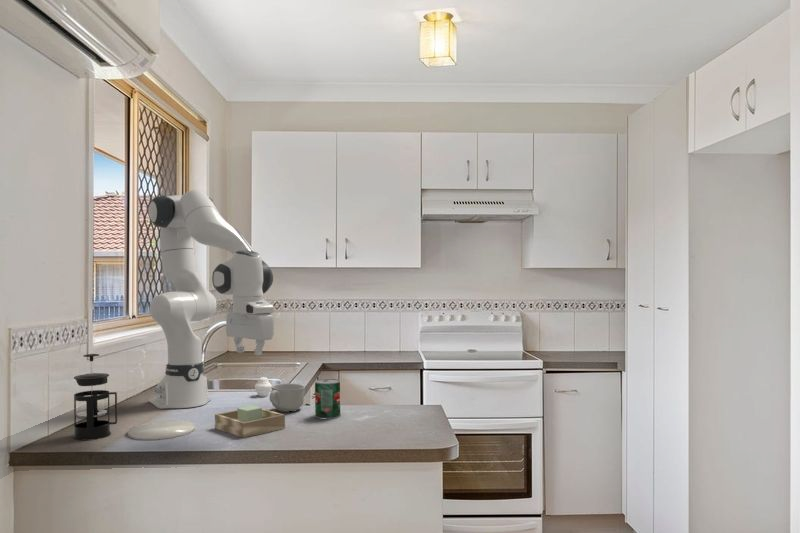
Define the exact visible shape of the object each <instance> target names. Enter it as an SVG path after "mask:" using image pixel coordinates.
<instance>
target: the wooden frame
mask: <svg viewBox="0 0 800 533" xmlns="http://www.w3.org/2000/svg"><path fill="white" fill-rule="evenodd" d="M284 428H285V429H286V415H285V414H284V413H281V412H276V411H272V410H268V409H264V408H262V419H258V420H254V421H249V422H242V421H239V420H238V410H237V409H236V410H232V411H226V412H221V413H216V414H214V429H216V430H219V431H223V432H225V433H228V434H231V435H234V436H237V437H241V438H245V437H246V438H249V436H250V437H253V435H254V436H259V435H262V434H261V433H263V434H267V433H266V432H268V433H271V432H270V431H272V432H275V430H276V431H279V430H280V429H281V430H285V429H284ZM258 434H259V435H258Z"/></svg>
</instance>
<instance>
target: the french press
mask: <svg viewBox="0 0 800 533" xmlns="http://www.w3.org/2000/svg"><path fill="white" fill-rule="evenodd" d="M99 356H100V354H98V353H88V354H84V355H82V357H84V358H85V357H86V358H89V362H90V373H85V374H79V375H75V376H73V380H75V381H76V383H77V385H78V386H80V387H90V390H86V391H80V392H76V393H74V395H73V409H74V410H73V411H74V412H73V413H74V415H73V417H74V419H73V420H74V425H73V426H74V434H73V439H74V438H76V439H86V440H85V441H88V440H87V439H94V440H98V438H100V439H104V438H106V437H109V436H111V433H112V432H111V427H110V426H111V425H117V424H118V392H117V391H112V392H111V391H109V390H105V389H104V390H103V389H100V390H99V389H97V390H94V389H93V386H101V385H105V384H107V383H108V378H109V376H110V374H108V373H104V372H103V373H101V372H98V373H97V372H94V373H93V362H94V357H99ZM110 395H114V408H115V409H114V411H115V412H114V417H115V419H114V421H111V420H110V417H111V416H110V410H111V409H110ZM105 399H107V409H98V401H99V400H105ZM77 402H85V403H86V404H85V405H86V410H84V411H83V410H82V411H80V412H77ZM105 416H107V418H108V419H107V420H105V419H98V418H102V417H105ZM77 419H85V420H86V421H82V422H79V423H77ZM76 439H75V440H76Z"/></svg>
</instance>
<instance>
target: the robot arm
mask: <svg viewBox="0 0 800 533" xmlns="http://www.w3.org/2000/svg"><path fill="white" fill-rule="evenodd" d="M148 217H149V220H150V222H151V224H153V225H154V227H158V228H160V234H159V248H160V258H161V267H162V273H163V276H164V277H165V278H166V279H167V280H169V281H170V282H171V283H172V285H173V286H174V288H175V290H176V291H166V292H163V293H160V294H157V295H155V296H154V297H153V298H152V299H151V302H150V305H149V313H150V316H151V318H152V319H153V321H155V322H156V323H157V324H158V325H159V326H160V327H161V329H162V331H163V333H164V336H165V339H166V345H167V364H165V366H166V367H165V372H164V373H165V375H164V376H163V378H161V380H160V381H159V382H158V383H157V385H156V386H155V387H154V394H155V396H154V397H152V398H149V399H148V401H149V403H150V404H152V405H153V406H155V407H156V408H158V409H187V408H195V407H201V406H204V405H206V404H207V403H208V402H210V401H211V400H212V397H211V396H209V390H208V381H207V379H208V378H207V376H205V375H204V374H203V373H204V368H205V366H204V362H203V355H202V354H203V347H202V339H201V337H200V336H198V335H197V334H195V333H194V331H193V328H192V324H191V323H194V322H201V321H203V320H206V319H209V318H211V317H213V316H214V314H215V312H216V311H217V306H218V305H217V299H216V297H215V295H214V294H213V293H211V292H210V291H209V290H208V289H207V288H206V287H205V284H204V283H203V281H202V279H201V276H200V274H199V271H198V266H197V260H196V252H195V246H194V240H195V241H196V242H197V243H199V244H202V245H205V246H209V247H213V248H217V249H218V248H219V249H222V250H225V251H227V252H229V253H231V254H232V257H231V258H230V259H228V260H227V261H225V262H223V263H219V264H217V266H216V267H215V268H214V270H213V272H212V277H211V278H212V279H211V280H212V285H213V287H214V289H215V290H216V292H217V293H219V294H221V295H227V296H228V295H232V305H231V306H230V307H229V309H228V312H227V314H226V322H225V334H226V336H227V337H230V338H231V337H232V338H233V342H234V344H235V347H236V348H235V349H236V350H235V351H236V353H239V354H242V353H245V345H243V342H242V341H243V339H246V340H247V339H248V340H255V344H256V346H255V348H254V349H253V355H254V356H262V355H263V350H264V349H263V348H264V345H265V344H266V343H265V341H270V340H272V339H273V337H274V335H275V332H274V331H275V328H274V326H275V324H274V323H275V322H274V316H273V313H275V312H274V310H275V309H274V308H275V307H274V305H273V304H272V303H269V302H268V301H267V300H266V299H264V294H266V293H267V292H268V291H269V290H270V288H271V286H272V285H273V282H274V274H273V271H272V268H271V267H270V266H269V265H268V264H267V263H266V262H265V261H264V260H263V259H262V257H261V254H260V253H258V252H257V251H255V250H254V248H253V247H252V246H251V245H250V243H249V242H248V240H247V239H246V238H245V237H244V236H243V234H242V233H241V232H240V231H239V230H237V229H236V228H235V227H233V226H232V225H231V224H230V223H228V221H227V220H225V218H224V217H223V216H222V215H221V213H220V212H219V210H218V208H217V207H216V204H215V202H214V200H213V199H212V198H211V197H209V196H208V195H207V194H206V193H205V192H204V191H202V190H199V189H191V190H188V191H186V192H184V194H180V195H179V194H177V195H176V194H175V195H160V196H155V197H153V198H152V199H151V200H150V202H149V203H148ZM193 239H194V240H193Z"/></svg>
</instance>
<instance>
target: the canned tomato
mask: <svg viewBox="0 0 800 533" xmlns="http://www.w3.org/2000/svg"><path fill="white" fill-rule="evenodd" d="M314 402H315V404H314V407H315V410H314V411H315V412H314V415H315V416H316V417H318V418H317V419H319V418H326V419H325V420H332V419H331V418H333V419H337V417H338V418H340V417H341V380H340V379H336V378H321V379H317V380H315V381H314Z"/></svg>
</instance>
